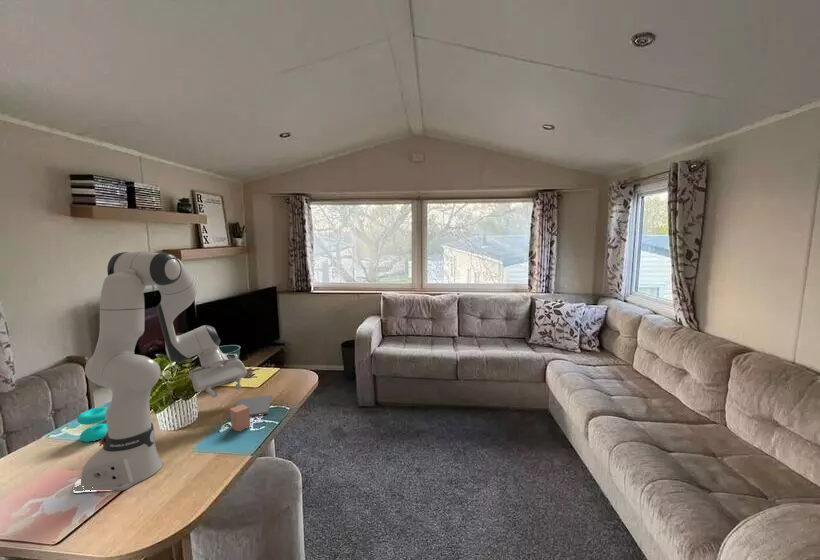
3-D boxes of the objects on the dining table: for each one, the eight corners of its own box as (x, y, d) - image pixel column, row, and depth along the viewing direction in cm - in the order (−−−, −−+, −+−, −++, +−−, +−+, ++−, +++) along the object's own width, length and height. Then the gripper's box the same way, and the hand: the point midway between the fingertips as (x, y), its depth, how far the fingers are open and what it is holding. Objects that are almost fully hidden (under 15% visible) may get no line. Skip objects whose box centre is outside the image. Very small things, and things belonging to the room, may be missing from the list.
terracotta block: (237, 432, 145) (235, 412, 144) (231, 428, 149) (229, 408, 148) (250, 427, 149) (248, 407, 148) (244, 423, 152) (242, 404, 151)
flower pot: (205, 388, 188) (202, 356, 186) (210, 376, 204) (207, 347, 202) (241, 383, 194) (239, 352, 192) (244, 372, 209) (241, 343, 207)
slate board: (231, 419, 156) (231, 417, 156) (238, 401, 172) (238, 399, 172) (267, 414, 159) (267, 411, 159) (271, 397, 176) (271, 395, 175)
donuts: (75, 420, 137) (78, 410, 145) (79, 447, 139) (81, 435, 147) (110, 412, 143) (111, 403, 151) (114, 437, 145) (114, 427, 153)
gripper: (188, 367, 149) (201, 397, 144) (240, 353, 164) (253, 380, 159) (185, 375, 152) (198, 405, 147) (236, 361, 167) (249, 388, 162)
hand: (227, 392), depth 153 cm, fingers open, 8 cm apart
